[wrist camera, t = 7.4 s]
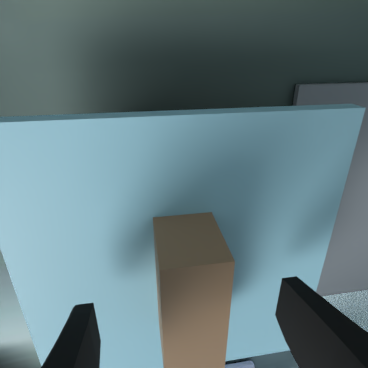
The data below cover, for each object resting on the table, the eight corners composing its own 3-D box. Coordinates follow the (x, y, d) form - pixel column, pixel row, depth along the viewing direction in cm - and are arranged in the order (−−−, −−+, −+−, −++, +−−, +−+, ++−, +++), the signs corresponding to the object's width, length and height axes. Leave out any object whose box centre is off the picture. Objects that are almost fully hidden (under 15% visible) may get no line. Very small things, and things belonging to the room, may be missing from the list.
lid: (294, 336, 18) (331, 404, 15) (53, 375, 16) (33, 465, 13) (351, 103, 12) (440, 129, 8) (-31, 118, 10) (-116, 159, 6)
